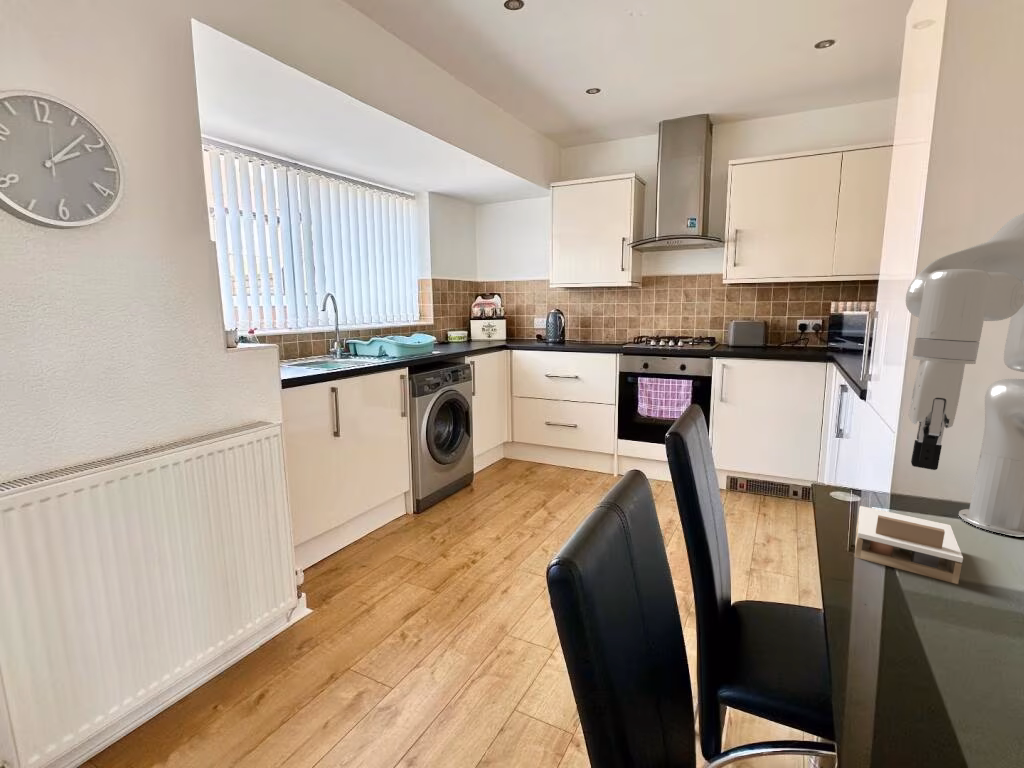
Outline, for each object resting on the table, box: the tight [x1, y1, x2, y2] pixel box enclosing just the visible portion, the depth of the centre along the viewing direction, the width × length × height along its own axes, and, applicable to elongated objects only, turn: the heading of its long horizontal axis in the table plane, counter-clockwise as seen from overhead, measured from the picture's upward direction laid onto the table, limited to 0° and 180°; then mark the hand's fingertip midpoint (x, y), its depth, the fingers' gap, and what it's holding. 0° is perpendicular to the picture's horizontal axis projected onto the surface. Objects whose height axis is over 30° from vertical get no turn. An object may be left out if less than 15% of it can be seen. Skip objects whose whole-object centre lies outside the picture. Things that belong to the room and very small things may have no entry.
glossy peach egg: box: [869, 541, 894, 557], centre depth 91 cm, size 3×3×3 cm
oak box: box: [854, 513, 963, 585], centre depth 92 cm, size 16×14×4 cm
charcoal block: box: [911, 551, 939, 568], centre depth 87 cm, size 3×3×3 cm
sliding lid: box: [858, 505, 964, 564], centre depth 92 cm, size 16×14×4 cm
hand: (923, 466), depth 81 cm, fingers closed
